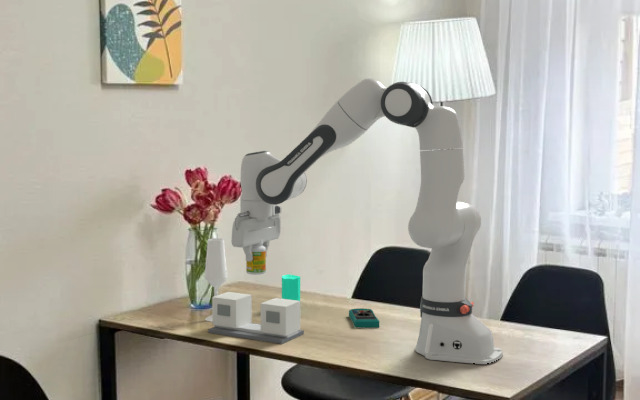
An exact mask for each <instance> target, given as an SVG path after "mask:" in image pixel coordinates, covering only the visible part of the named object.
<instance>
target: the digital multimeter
mask: <svg viewBox="0 0 640 400" xmlns="http://www.w3.org/2000/svg"><path fill="white" fill-rule="evenodd" d="M348 317H349V319H350V320H351V322H352V325H353V328H356V329H374V328H375V329H376V328H378V329H379V327H380V320H379V319H378V318H377V317H376V315H375V313H374V311H373V310H372V309H371V308H364V307H362V308H361V307H360V308H352V309H349V310H348Z"/></svg>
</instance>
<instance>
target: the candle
mask: <svg viewBox="0 0 640 400" xmlns="http://www.w3.org/2000/svg"><path fill="white" fill-rule="evenodd" d="M281 299H288V300H296V301H300V302H301V276H299V275H296V274H295V275H294V274H291V273H289V274H283V275H281Z"/></svg>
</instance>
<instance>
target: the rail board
mask: <svg viewBox="0 0 640 400" xmlns="http://www.w3.org/2000/svg"><path fill="white" fill-rule="evenodd" d="M252 296H253V295H252V294H249V293H239V292H232V291H226V292H223V293H221V294H218V295H217V296H214V295H213V296H212V299H211V301H212V311H211V313H212V314H211V315H212V322H211V323H212V325H213V327H210V328H208V329H207V330H208V331H207V332H208V333H209V334H214V335H215V334H217V335H222V336H227V337H236V338H241V339H247V340H254V341H260V342H266V343H273V344H280V345H283V344H285V343H287V342H290V341H291V340H294V339H296V338H298V337H300V336H302V335H304V334H305V330H304V329H303V330H301V300H300V301H296V300H288V299H282V298H279V297H275V298H274V297H273V298H272V299H269V300H266V301H263V302H261V303H260V323H254V322H252V320H253V319H252V318H253V317H252V310H253V309H252V307H253V306H252V305H253V304H252V302H253V301H252V298H253V297H252Z"/></svg>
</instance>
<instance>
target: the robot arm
mask: <svg viewBox="0 0 640 400" xmlns="http://www.w3.org/2000/svg"><path fill="white" fill-rule="evenodd" d="M383 117H384V118H387V120H389V121H390V122H392V123H394V124H397V125H401V126H406V127H410V128H414V129H415V130H416V132H417V134H418V139H419V156H420V158H419V159H420V161H419V163H420V185H419V186H420V187H419V192H418V196H417V197H418V198H417V203H416V207H415V210H414V212H413V213H412V215H411V216H410V218H409V220H408V226H407V227H408V228H407V230H408V235H409V237H410V239H411V241H412V242H413V243H414V244H415V245H417V246H419V247H422V248H427V249H431V251H430V254H429V256H428V259H427V260H426V262H425V264H424V265H423V268H422V296H421V298H420V306H419V313H420V318H421V319H420V326H419V333H418V338H417V341H416V345H415V348H414V350H415V352H417V353H418V354H420V355H422V356H424V358H425V359H427V360H429V361H430V360H431V361H443V362H452V363H455V362H456V363H462V364H463V363H465V364H473V363H475V365H488V364H487V363H489V364H492V363H491V362H493V363H495V362H497V361H499V360H500V359H501V358H502V356H503V350H502V348H500V347H496V346H495V342H494V336H493V333H492V330H491V329H490V328H489V327H488V326H487V325H486V324H484V322H482V321H481V320H480V319H478V318H477V317H476V315H474V314H473V307H474V303H475V302H474V301H471V302H470V301H469V300H468V299H467V298H466V284H467V283H466V280H467V268H468V262H469V258H470V256H471V255H470V254H471V251H472V247H473V242H474V241H475V238H476V235H477V234H478V232H479V231H480V228H481V225H482V219H481V217H482V216H481V214H480V212H479V210H478V209H477V208H476V207H475V206H474V205H472V204H470V203H467V202H463V201H458V197H459V191H460V188H461V186H462V184H463V183H464V180H465V161H464V160H465V159H464V144H463V143H464V142H463V135H462V129H461V123H460V120H459V116H458V114H457V111H455V110H454V109H453V108H451V107H448V106H444V105H433V98H432V96H431V94H430V93H429V91H428V90H427V89H426V88H424V87H422V86H420V85H419V84H417V83H414V82H410V81H398V82H393V83H392V84H390V85H389V86H387V87H385V85H384V84H383V83H382V82H380V81H378V80H376V79H373V78H364V79H362V80H360V81H359V82H358V83H357V84H355V85H354V86H353V87H351V88H350V89H349V90H348V91H346V92H345V93H344V94H343V95H342V96H341V97H340V98H339V99H338V100H337V101H336V102H335V103H334V104H333V105H332V106H331V108H329V110H327V112H326V113H325V115H324V116H323V117H322V118H321V120H320V121H319V122H318V123H317V124H316V126H315V127H314V128H313V129H312V131H311V132H310V133H309V134H308V135H307V136H306V137H305V138H304V139H303V140H302V141H301V142H300V143H299V144H298V145H297V146H296V147H294V148H293V149H292V150H291V151H290V153H289V154H287V155H286V156H285V157H284V158H282V159H280V158H278V157H276V156H274V155H273V154H272V152H270V151H268V150H261V151H255V152H250V153H246V154H245V155H244V156H243V157H242V161H241V164H240V166H241V167H240V177H239V178H240V179H239V180H240V187H241V195H240V206H239V207H240V210H239V211H240V212H239V213H238V214H237V215H236V217H235V218H234V221H233V223H232V229H231V242H230V243H231V245H232V247H234V248H242V250H243V252H244V255H245V262H246V261H253V260H254V254H252V251H251V249H252V245H255V244H259V243H260V242H261V240H262V239H263V244H262V245H263V246H264V247H265V248H266V258H267V256H268V251H269V250H268V249H269V247H270V241H274V240H278V239H279V238H280V237H281V229H282V227H281V226H282V221H281V218H282V217H281V214H282V206H281V205H280V204H282V203H284V202H287V201H289V200H291V199H294V198H296V197H298V196H300V195H301V194H302V193H303V192H304V191H305V189H306V187H307V182H308V181H307V175H306V171H308V169H310V168H311V167H312V166H313V165H314V164H315V163H316V162H318V160H319V159H321V158H322V157H324V156H325V155H327V154H329V153H331V152H333V151H337V150H338V149H343V148H344V147H347V146H349V145H350V144H352V143H353V142H355V141H357V139H359V138H361V136H362V135H364V134H365V132H367V131H368V130H369V129H370V128H371V127H372V126H373V125H374V124H375V123H376V122H377V121H379V120H380V119H381V118H383ZM498 359H499V360H498ZM496 360H497V361H496ZM494 361H495V362H494Z"/></svg>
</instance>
